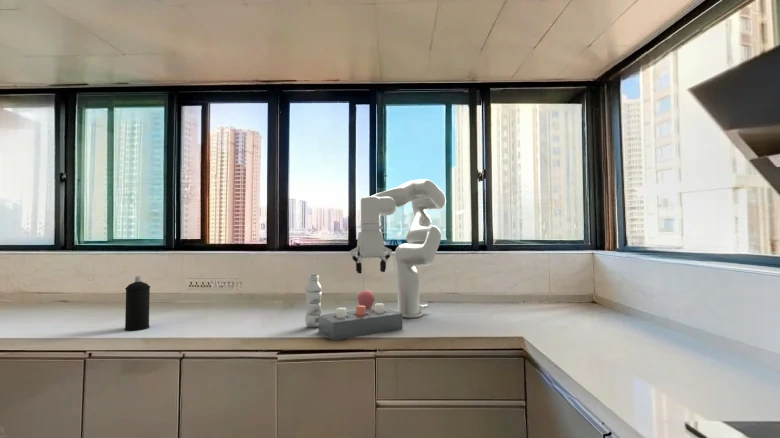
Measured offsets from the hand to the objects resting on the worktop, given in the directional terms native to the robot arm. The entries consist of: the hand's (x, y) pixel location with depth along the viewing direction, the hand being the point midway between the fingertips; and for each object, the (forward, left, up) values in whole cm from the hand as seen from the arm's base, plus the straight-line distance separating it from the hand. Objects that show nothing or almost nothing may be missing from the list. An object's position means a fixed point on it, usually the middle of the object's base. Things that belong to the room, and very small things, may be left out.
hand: (371, 272), depth 149 cm
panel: (+5, +2, -21) cm, 22 cm away
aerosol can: (+77, -47, -21) cm, 93 cm away
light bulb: (-6, -15, -21) cm, 27 cm away
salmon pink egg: (+5, +2, -18) cm, 19 cm away
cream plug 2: (-3, +2, -18) cm, 18 cm away
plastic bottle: (+18, -13, -21) cm, 31 cm away
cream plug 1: (+13, +2, -18) cm, 23 cm away
